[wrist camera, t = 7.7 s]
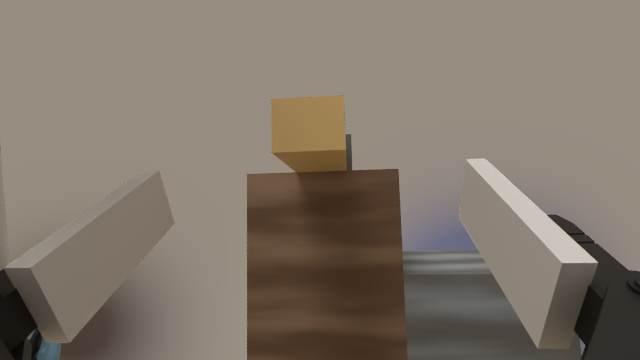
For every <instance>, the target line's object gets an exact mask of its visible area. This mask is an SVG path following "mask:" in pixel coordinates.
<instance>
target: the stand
mask: <svg viewBox="0 0 640 360" xmlns="http://www.w3.org/2000/svg"><path fill="white" fill-rule="evenodd" d="M399 194H400V193H399V174H398V169H382V170H353V171H324V172H295V173H268V174H247V360H580V359H581V348H580V338H579V336H578V335H577V334H576V332H575V333H574V336H573V339H572V342H571V345H570V347H569V349H537V347H536V345H535V344H534V342H533V340H532V339H531V337H530V335H529V334H528V332H527V330H526V329H525V327H524V325H523V324H522V322H521V320H520V319H519V317H518V315H517V314H516V312H515V310H514V309H513V307H512V305H511V304H510V302H509V301H508V299H507V297H506V296H505V294H504V292H503V291H502V289H501V287H500V286H499V284H498V282H497V281H496V279H495V277H494V276H493V274H492V272H491V271H490V269H489V267H488V266H487V264H486V262H485V261H484V259H483V257H482V256H481V254H480V253H479V251H478V250H439V251H438V250H437V251H402V235H401V215H400V195H399Z"/></svg>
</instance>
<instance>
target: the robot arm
mask: <svg viewBox="0 0 640 360" xmlns="http://www.w3.org/2000/svg"><path fill="white" fill-rule="evenodd" d="M458 218H459V219H460V221H461V223H462V224H463V226H464V228H465V229H466V231H467V233H468V234H469V236H470V237H471V239H472V241H473V242H474V244H475V246H476V247H477V249H478V251H479V253H480V254H481V256H482V257H483V259H484V261H485V262H486V264H487V266H488V267H489V269H490V271H491V272H492V274H493V276H494V277H495V279H496V281H497V282H498V284H499V286H500V287H501V289H502V291H503V292H504V294H505V296H506V297H507V299H508V301H509V302H510V304H511V305H512V307H513V309H514V310H515V312H516V314H517V315H518V317H519V319H520V320H521V322H522V324H523V325H524V327H525V329H526V330H527V332H528V334H529V335H530V337H531V339H532V340H533V342H534V344H535V345H536V347H537V349H569V347H570V345H571V342H572V339H573V336H574V333H575V332H576V334H577V335H578V336H579V338H580V339H581V340H582V341H583V342H584V344H585V348H584V351H583V354H582V356H581V359H580V360H640V272H639V271H629V270H628V269H626V268H625V267H624V266H623V265H622V264H620V263H619V262H618V261H617V260H616V259H615V258H613V257H612V256H611V255H610V254H609V253H608V252H606V251H605V250H604V249H603V248H602V247H600V246H599V245H598V244H595V243H594V241H593V240H592V239H591V238H590V237H589V236H587V235H585V233H584V232H583V231H582V230H580V229H579V228H578V227H577V226H575V224H573V223H571V222H570V221H568V220H566V219H563V218H562V217H560V216H558V215H546V214H545V213H544V212H543V211H541V210H540V209H539V208H538V207H537V206H536V205H535V204H534V203H533V202H532V201H531V200H530V199H529V198H527V197H526V196H525V195H524V194H523V193H522V192H521V191H520V190H519V189H518V188H517V187H515V186H514V185H513V184H512V183H511V182H510V181H509V180H508V179H507V178H506V177H505V176H503V175H502V174H501V173H500V172H499V171H498V170H497V169H496V168H495V167H494V166H493V165H492V164H490V163H489V162H488V161H487V160H486V159H465V167H464V176H463V184H462V192H461V200H460V209H459V217H458ZM173 224H174V220H173V217H172V213H171V210H170V207H169V203H168V199H167V196H166V193H165V189H164V185H163V182H162V178H161V175H160V171H159V170H149V171H142V172H140V173H139V174H137V175H136V176H135V177H133V178H132V179H130V180H129V181H127V182H126V183H124V184H123V185H122V186H120V187H119V188H117V189H116V190H115V191H113V192H112V193H110V194H109V195H107V196H106V197H104V198H103V199H102V200H100V201H99V202H97V203H96V204H94V205H93V206H92V207H90V208H89V209H87V210H86V211H84V212H83V213H82V214H80V215H79V216H77V217H76V218H74V219H73V220H71V221H70V222H69V223H67V224H66V225H64V226H63V227H62V228H60V229H59V230H57V231H56V232H54V233H53V234H51V235H50V236H49V237H47V238H46V239H44V240H43V241H41V242H40V243H39V244H37V245H36V246H34V247H33V248H32V249H30V250H29V251H27V252H26V253H25V254H23V255H22V256H20V257H18V258H17V259H16V260H14V261H13V262H11V263H10V264H9V251H8V238H7V226H6V212H5V200H4V188H3V174H2V161H1V148H0V360H59V357H60V350H61V343H70V342H71V340H72V339H73V338H74V337H75V336H76V335H77V334H78V332H79V331H80V330H81V329H82V328H83V327H84V326H85V324H86V323H87V322H88V321H89V320H90V319H91V318H92V316H93V315H94V314H95V313H96V312H97V311H98V310H99V309H100V307H101V306H102V305H103V304H104V303H105V302H106V301H107V299H108V298H109V297H110V296H111V295H112V294H113V292H114V291H115V290H116V289H117V288H118V287H119V286H120V285H121V284H122V282H123V281H124V280H125V279H126V278H127V277H128V275H129V274H130V273H131V272H132V271H133V270H134V269H135V268H136V266H137V265H138V264H139V263H140V262H141V261H142V260H143V259H144V257H145V256H146V255H147V254H148V253H149V252H150V251H151V249H152V248H153V247H154V246H155V245H156V244H157V243H158V241H159V240H160V239H161V238H162V237H163V236H164V235H165V233H166V232H167V231H168V230H169V229H170V228H171V227H172V225H173Z"/></svg>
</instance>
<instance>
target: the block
mask: <svg viewBox="0 0 640 360" xmlns="http://www.w3.org/2000/svg"><path fill="white" fill-rule="evenodd" d="M271 122H272V123H271V124H272V125H271V126H272V127H271V129H272V153H273V154H274V155H275V156H276V157H278V158H279V159H280V160H282V161H283V162H284V163H285V164H286V165H288V166H289V167H290V168H292V169H293V170H294V171H295V172H324V171H352V154H351V153H352V151H351V134H348V135H345V112H344V95H342V96H341V95H340V96H321V97H304V98H284V99H271Z"/></svg>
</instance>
